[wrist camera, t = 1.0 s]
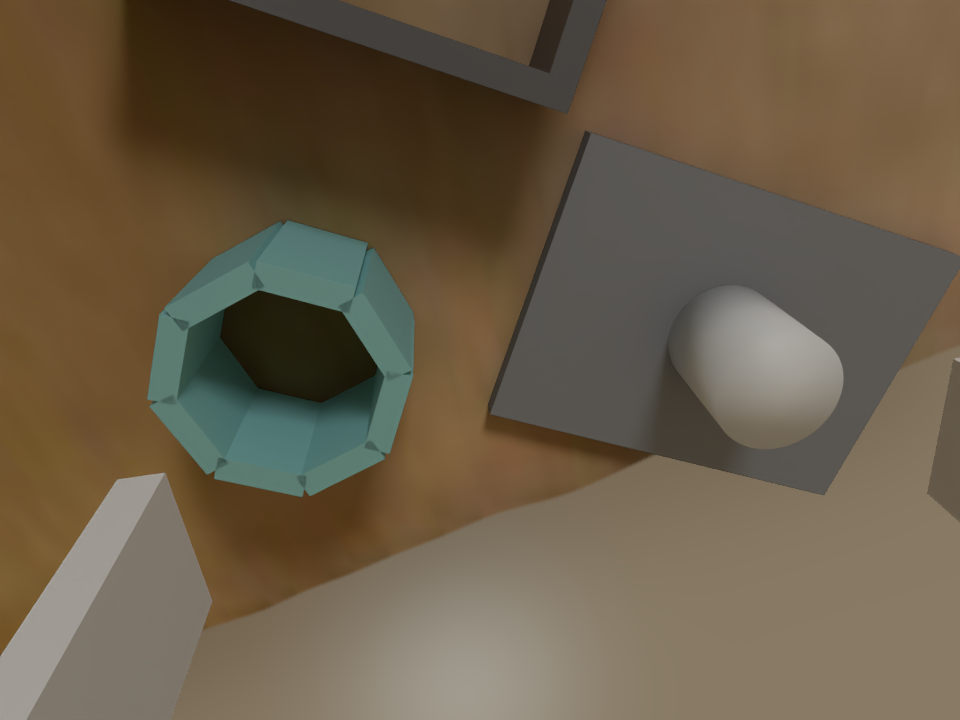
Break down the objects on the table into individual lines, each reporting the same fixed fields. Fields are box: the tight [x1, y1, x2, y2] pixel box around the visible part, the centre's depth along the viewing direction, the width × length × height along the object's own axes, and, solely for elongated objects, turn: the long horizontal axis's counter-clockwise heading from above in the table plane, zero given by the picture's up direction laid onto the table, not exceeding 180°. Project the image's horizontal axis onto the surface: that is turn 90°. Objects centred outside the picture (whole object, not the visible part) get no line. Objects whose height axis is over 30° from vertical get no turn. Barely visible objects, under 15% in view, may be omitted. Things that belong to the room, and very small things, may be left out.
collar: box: [147, 220, 414, 497], centre depth 28 cm, size 9×9×6 cm
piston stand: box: [488, 131, 960, 495], centre depth 30 cm, size 18×13×6 cm
